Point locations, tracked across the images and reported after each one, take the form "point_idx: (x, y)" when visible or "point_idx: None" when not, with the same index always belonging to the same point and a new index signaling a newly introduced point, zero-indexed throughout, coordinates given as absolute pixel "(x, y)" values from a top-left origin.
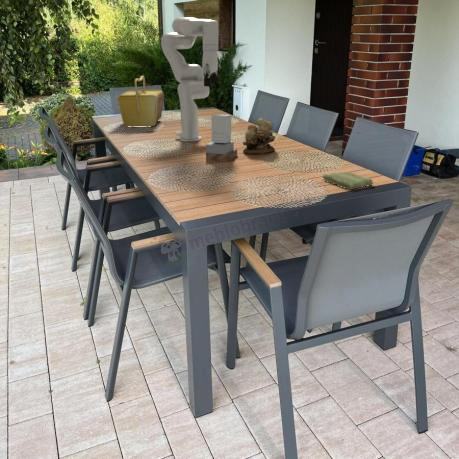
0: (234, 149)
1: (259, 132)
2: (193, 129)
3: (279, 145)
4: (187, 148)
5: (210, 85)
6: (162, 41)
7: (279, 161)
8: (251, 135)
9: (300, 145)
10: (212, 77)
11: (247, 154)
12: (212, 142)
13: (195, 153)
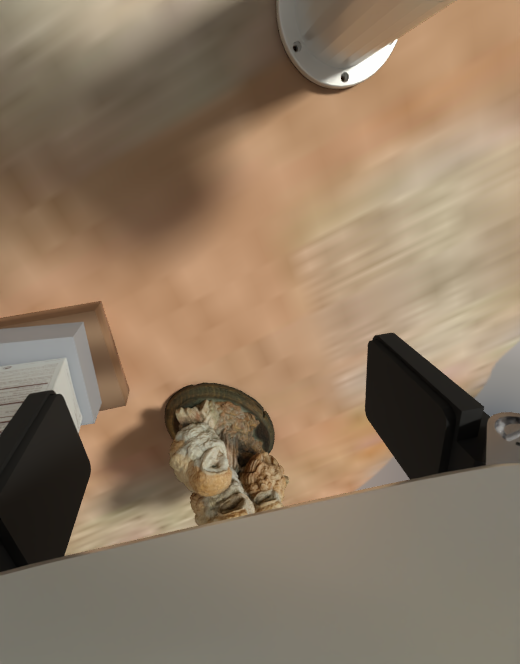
0: (110, 401)
1: (191, 503)
2: (334, 33)
3: (335, 438)
4: (137, 111)
5: (83, 480)
6: None
7: (130, 523)
8: (175, 471)
9: (352, 484)
10: (420, 417)
11: (165, 411)
12: (17, 353)
13: (64, 212)
